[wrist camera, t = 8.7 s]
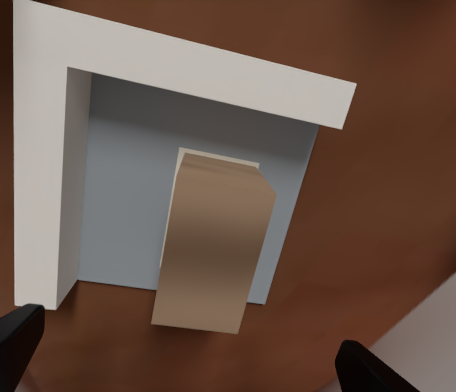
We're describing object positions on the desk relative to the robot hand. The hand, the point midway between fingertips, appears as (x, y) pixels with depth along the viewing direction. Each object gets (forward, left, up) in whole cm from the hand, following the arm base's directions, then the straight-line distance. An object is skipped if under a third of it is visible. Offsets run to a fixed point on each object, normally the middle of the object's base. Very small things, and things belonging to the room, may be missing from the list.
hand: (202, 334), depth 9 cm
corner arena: (+2, -2, -9) cm, 10 cm away
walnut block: (0, 0, -9) cm, 9 cm away
